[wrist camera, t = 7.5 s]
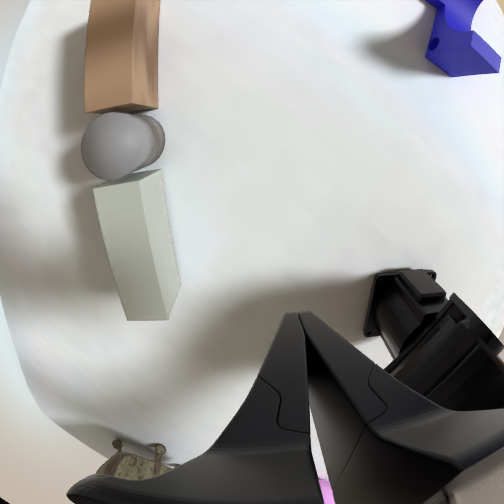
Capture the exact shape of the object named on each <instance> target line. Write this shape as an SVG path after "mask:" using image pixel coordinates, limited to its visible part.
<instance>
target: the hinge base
mask: <svg viewBox="0 0 504 504" xmlns="http://www.w3.org/2000/svg"><path fill="white" fill-rule="evenodd" d="M159 12H160V0H91V4H90V11H89V19H88V28H87V39H86V54H85V84H84V97H85V113H101V114H106V113H111V112H115V113H130V112H136V111H142V110H149V109H156V108H158V33H159ZM135 115H138V116H140V117H142V118H143V119H144V120H146V121H147V123H148V124H149V125H150V127H151V129H152V132H153V136H154V147H153V152H152V154H151V156H150V158H149V160H148V161H147V163H146V164H145V165H144V166H143V167H141V168H144V167H146V166H148V165H151V164H152V163H154V162H155V161H156V160H157V159H158V158H159V157H160V155H161V154H162V152H163V149H164V146H165V134H164V130H163V128H162V126H161V125H160V123H159V122H158V121H157V120H155V119H154V118H152V117H150V116H147V115H139V114H135ZM141 168H140V169H141ZM138 170H139V169H138Z"/></svg>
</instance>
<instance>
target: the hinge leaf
mask: <svg viewBox="0 0 504 504" xmlns="http://www.w3.org/2000/svg"><path fill="white" fill-rule="evenodd" d="M153 147H154V136H153V132H152V129H151V127H150V125H149V124H148V123H147V121H146V120H144V119H143V118H142V117H140V116H138V115H135V114H128V113H115V112H111V113H106V114H103V115H101V116H99V117H97V118H96V119H94V120H93V121H92V122H91V123H90V124H89V126H88V127H87V129H86V131H85V133H84V135H83V139H82V144H81V152H82V158H83V161H84V163H85V165H86V167H87V168H88V170H89V171H90V172H91V173H92V174H93V175H95V176H96V177H98V178H101V179H104V180H111V181H109V182H106V183H104V184H102V185H100V186H98V187H96V188H94V189H93V192H94V198H95V203H96V208H97V213H98V218H99V222H100V227H101V231H102V235H103V240H104V244H105V248H106V252H107V255H108V259H109V263H110V267H111V270H112V274H113V277H114V281H115V284H116V287H117V291H118V294H119V297H120V300H121V303H122V306H123V309H124V312H125V315H126V318H127V321H149V320H168V319H169V316H170V314H171V311H172V308H173V305H174V302H175V300H176V297H177V294H178V291H179V289H180V286H181V282H180V277H179V272H178V267H177V261H176V256H175V251H174V245H173V239H172V234H171V228H170V222H169V215H168V209H167V202H166V195H165V188H164V181H163V174H162V169H158V170H151V171H145V172H138V173H132V172H134V171H137V170H138V169H140V168H141V167H143V166H144V165H145V164H146V163H147V161H148V160H149V158H150V156H151V154H152V152H153ZM130 173H132V174H130Z"/></svg>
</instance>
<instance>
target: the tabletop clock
mask: <svg viewBox="0 0 504 504" xmlns="http://www.w3.org/2000/svg"><path fill="white" fill-rule="evenodd" d="M112 445H113V447H114V448H115V449H118V452H117V453H116V454H115V455H114V456H112V457H111V458H110V459H109V460H108V461H106V462H105V463H104V464H103V465H102V466H101V467H100V468H99V469H98V470H97V472H96V474H104V475H109V476H114V477H118V478H122V479H129V480H142V479H149V478H152V477H155V476H158V475H160V474H162V473H165V472H167V471H169V470H171V469H173V468H170V467H168V466H165V465H163V464H161V463H160V458H161V455H163V454H165V453H166V448H165V446H163V445H157V446H156V448H155V451H156V453H157V456H156V459H155V461H152V460H149V459H146V458H143V457H140V456H137V455H134V454H130V453H123V452H122V450H121V448H122V446H123V445H122V442H121V441H120V440H117V439H116V440H114V441H113V442H112ZM178 466H180V465H177V466H175V467H178Z"/></svg>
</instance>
